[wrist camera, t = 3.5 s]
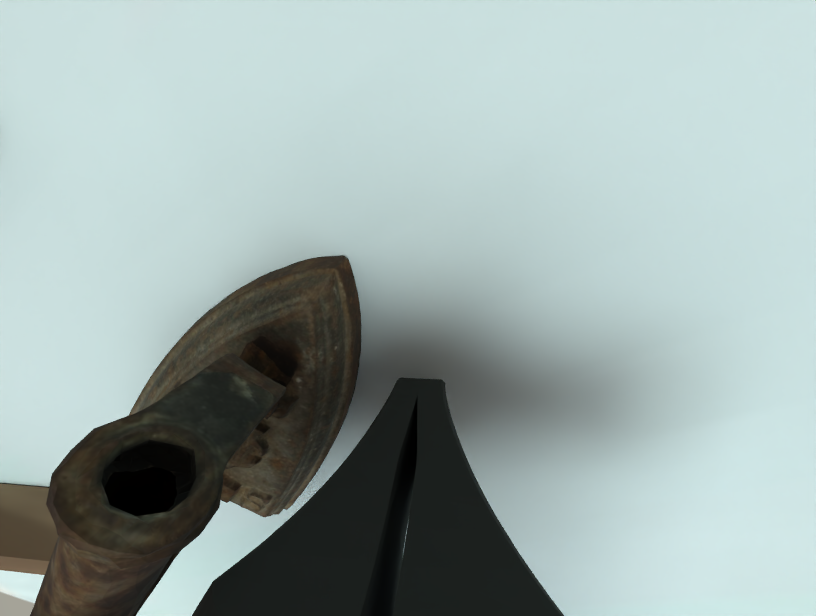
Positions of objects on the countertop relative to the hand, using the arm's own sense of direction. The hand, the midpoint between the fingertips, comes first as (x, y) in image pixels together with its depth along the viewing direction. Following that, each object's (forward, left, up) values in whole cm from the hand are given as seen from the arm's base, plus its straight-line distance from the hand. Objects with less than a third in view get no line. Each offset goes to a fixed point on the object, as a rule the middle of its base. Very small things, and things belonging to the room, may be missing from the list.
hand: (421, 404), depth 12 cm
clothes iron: (0, +5, -1) cm, 5 cm away
